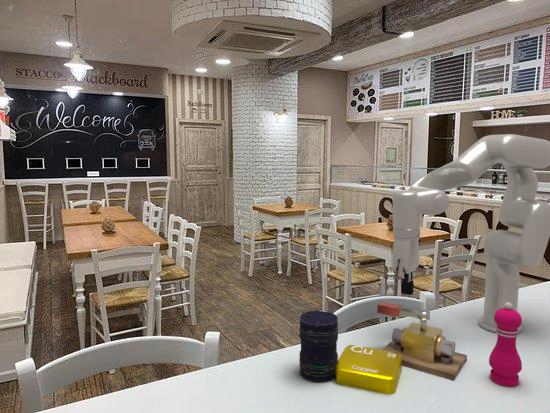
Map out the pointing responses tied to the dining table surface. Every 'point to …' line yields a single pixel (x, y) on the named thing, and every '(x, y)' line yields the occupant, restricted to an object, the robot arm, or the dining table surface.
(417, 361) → the valve board
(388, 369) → the element tile
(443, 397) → the dining table surface
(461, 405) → the dining table surface
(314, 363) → the black ridged cylinder
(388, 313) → the valve lever
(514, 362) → the pepper mill
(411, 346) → the ball valve
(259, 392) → the dining table surface
